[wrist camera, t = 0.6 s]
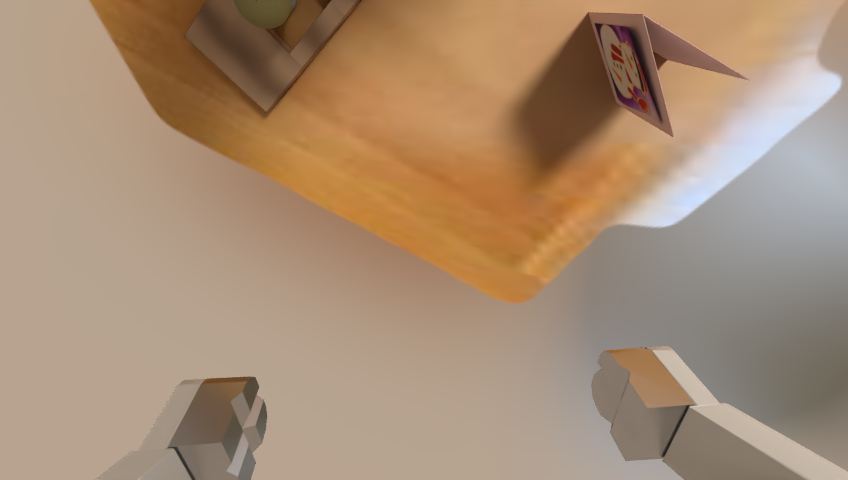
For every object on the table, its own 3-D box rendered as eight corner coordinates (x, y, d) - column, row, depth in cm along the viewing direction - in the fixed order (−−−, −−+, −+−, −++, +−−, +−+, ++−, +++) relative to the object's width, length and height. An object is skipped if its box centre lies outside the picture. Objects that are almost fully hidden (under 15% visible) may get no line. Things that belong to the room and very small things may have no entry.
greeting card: (580, 16, 44) (631, 20, 31) (648, -23, 41) (733, -36, 29) (609, 106, 49) (664, 142, 36) (671, 75, 46) (753, 101, 33)
